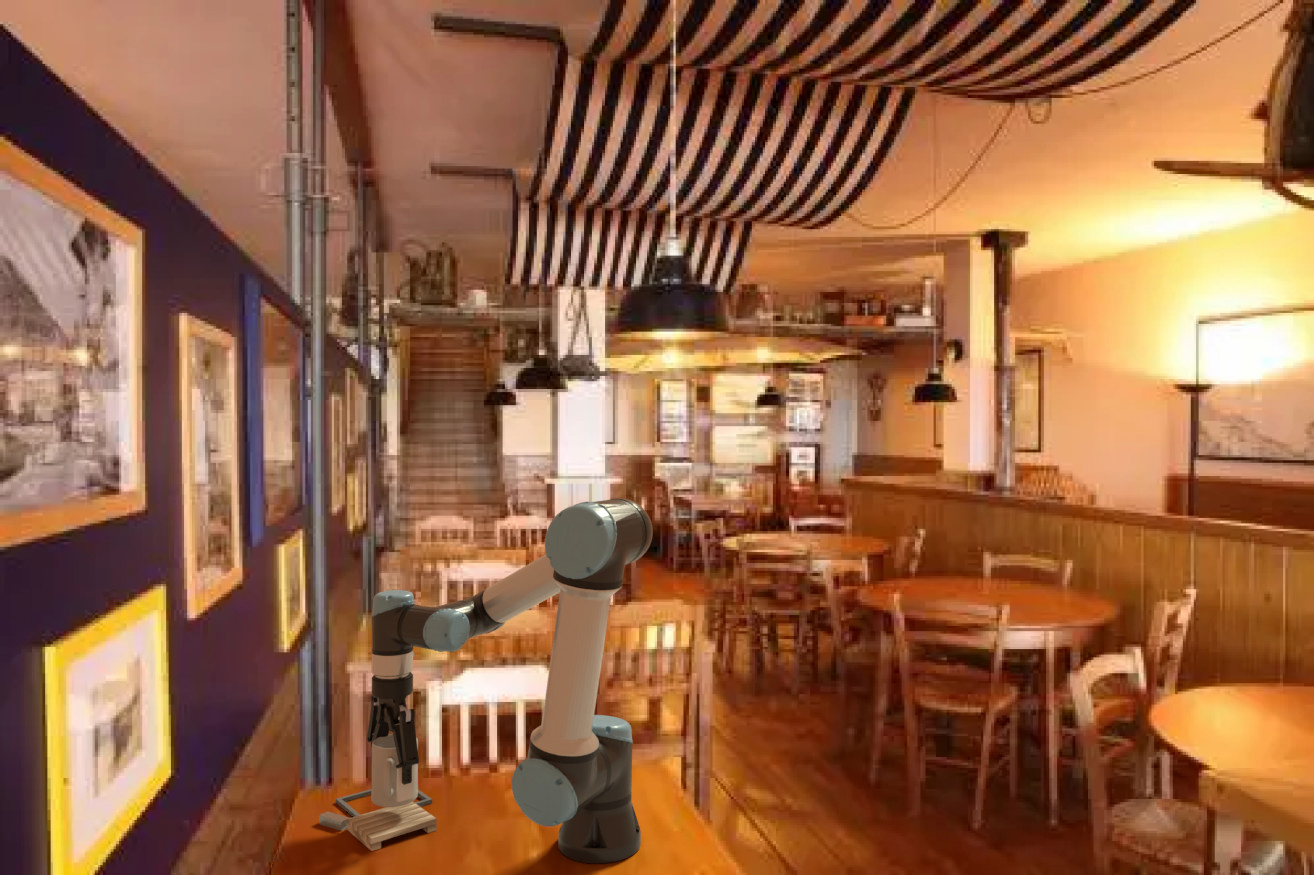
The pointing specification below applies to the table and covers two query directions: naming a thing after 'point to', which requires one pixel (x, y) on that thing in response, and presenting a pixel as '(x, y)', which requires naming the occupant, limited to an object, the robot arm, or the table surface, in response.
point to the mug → (388, 773)
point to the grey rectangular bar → (333, 821)
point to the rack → (390, 824)
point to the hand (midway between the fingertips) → (391, 790)
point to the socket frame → (352, 812)
